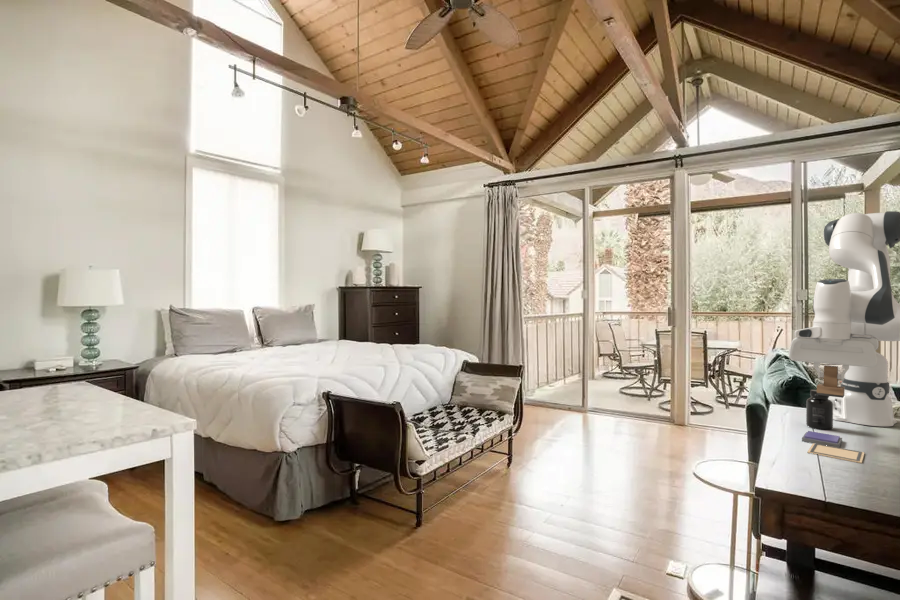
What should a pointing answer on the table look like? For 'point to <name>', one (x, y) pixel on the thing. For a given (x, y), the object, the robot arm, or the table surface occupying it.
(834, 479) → the table surface
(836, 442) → the ink pad
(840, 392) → the stamp
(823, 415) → the supplement bottle
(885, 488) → the table surface
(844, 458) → the marked card
